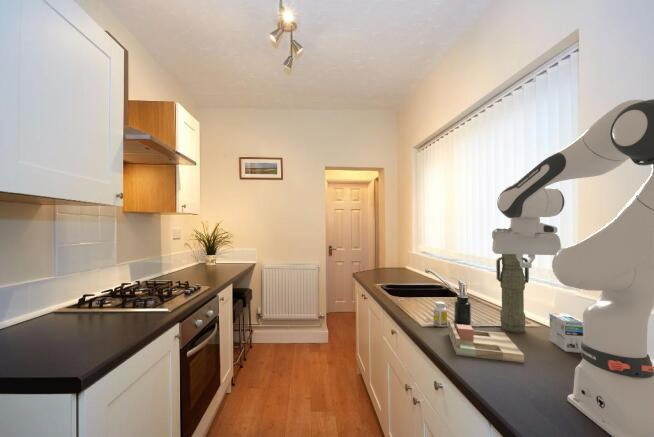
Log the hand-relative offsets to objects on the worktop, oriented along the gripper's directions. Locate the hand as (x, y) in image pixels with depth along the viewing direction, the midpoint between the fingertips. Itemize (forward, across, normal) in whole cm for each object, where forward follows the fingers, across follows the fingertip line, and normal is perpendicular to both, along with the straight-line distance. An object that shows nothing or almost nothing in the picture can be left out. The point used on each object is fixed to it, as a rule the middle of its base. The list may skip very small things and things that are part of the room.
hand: (525, 267), depth 102 cm
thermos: (+29, +4, +26) cm, 39 cm away
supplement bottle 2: (+29, -15, +29) cm, 44 cm away
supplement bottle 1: (+29, -26, +23) cm, 45 cm away
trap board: (+29, -14, +2) cm, 32 cm away
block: (+26, -20, +2) cm, 33 cm away
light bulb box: (+29, +16, +10) cm, 35 cm away
